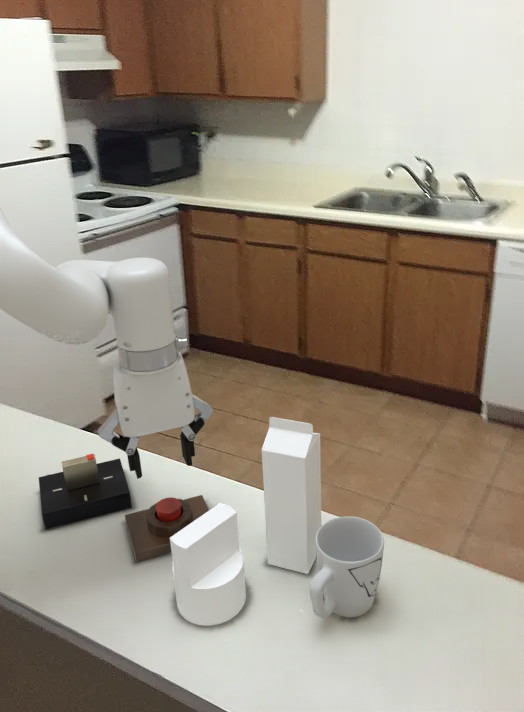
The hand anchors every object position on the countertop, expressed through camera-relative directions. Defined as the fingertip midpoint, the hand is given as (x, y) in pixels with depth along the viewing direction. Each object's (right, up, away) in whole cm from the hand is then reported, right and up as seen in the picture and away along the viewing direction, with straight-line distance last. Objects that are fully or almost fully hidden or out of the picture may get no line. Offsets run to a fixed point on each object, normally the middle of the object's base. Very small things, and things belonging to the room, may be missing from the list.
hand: (163, 465), depth 95 cm
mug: (+25, -16, -9) cm, 31 cm away
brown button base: (0, -11, +5) cm, 12 cm away
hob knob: (-15, -5, +11) cm, 19 cm away
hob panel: (-15, -8, +12) cm, 21 cm away
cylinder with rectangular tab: (+8, -16, -7) cm, 19 cm away
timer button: (0, -8, +3) cm, 9 cm away
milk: (+19, -13, -1) cm, 23 cm away
